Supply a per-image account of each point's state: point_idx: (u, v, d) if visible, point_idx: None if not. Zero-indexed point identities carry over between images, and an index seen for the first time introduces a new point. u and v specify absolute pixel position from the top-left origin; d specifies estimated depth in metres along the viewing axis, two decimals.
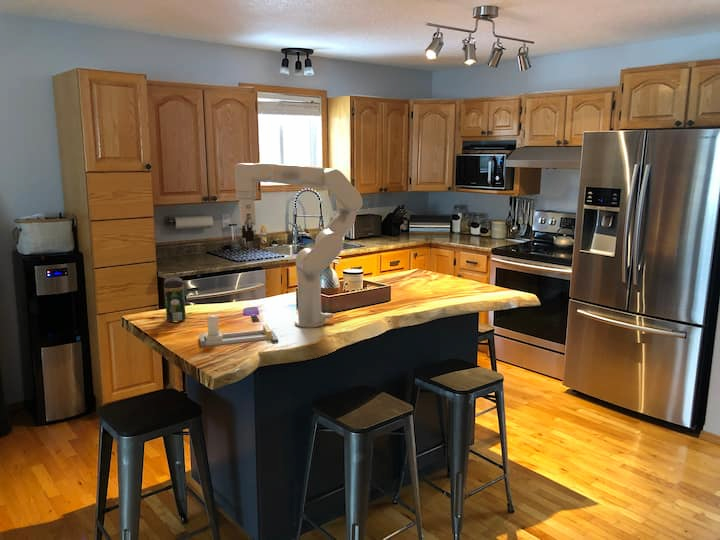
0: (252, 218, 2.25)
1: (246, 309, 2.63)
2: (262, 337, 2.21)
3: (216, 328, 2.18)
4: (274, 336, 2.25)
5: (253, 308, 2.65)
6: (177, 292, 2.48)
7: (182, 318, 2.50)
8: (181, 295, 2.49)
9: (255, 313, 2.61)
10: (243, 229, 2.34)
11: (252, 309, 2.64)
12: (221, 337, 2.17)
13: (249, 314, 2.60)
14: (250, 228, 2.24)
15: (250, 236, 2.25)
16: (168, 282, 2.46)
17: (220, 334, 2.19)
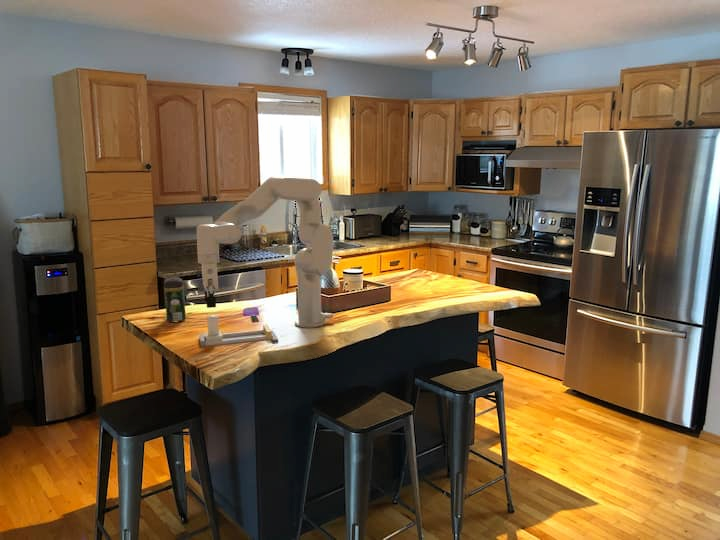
0: (214, 283, 2.11)
1: (246, 309, 2.63)
2: (262, 337, 2.21)
3: (216, 328, 2.18)
4: (274, 336, 2.25)
5: (253, 308, 2.64)
6: (177, 292, 2.48)
7: (182, 318, 2.50)
8: (181, 295, 2.49)
9: (255, 313, 2.60)
10: (206, 292, 2.20)
11: (252, 309, 2.63)
12: (221, 337, 2.17)
13: (249, 314, 2.59)
14: (211, 294, 2.10)
15: (212, 302, 2.11)
16: (168, 282, 2.46)
17: (220, 334, 2.19)
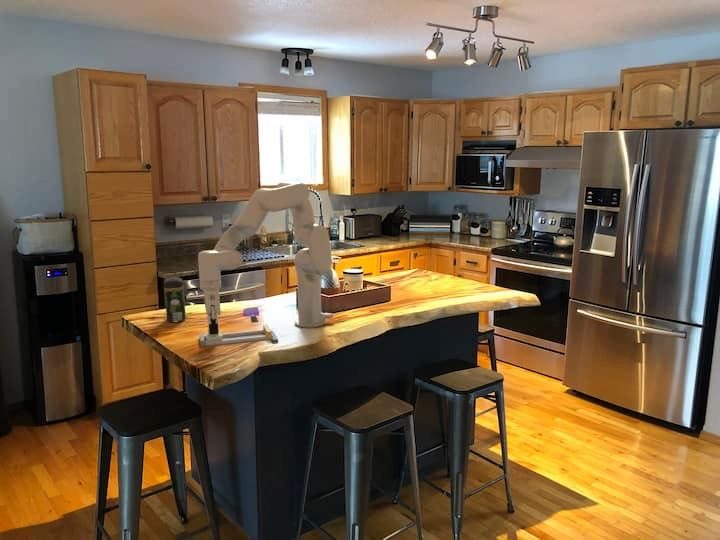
0: (216, 309, 2.13)
1: (246, 310, 2.62)
2: (262, 337, 2.21)
3: None
4: (274, 336, 2.25)
5: (253, 309, 2.63)
6: (177, 292, 2.48)
7: (182, 318, 2.50)
8: (181, 295, 2.49)
9: (255, 314, 2.60)
10: None
11: (252, 310, 2.63)
12: (221, 337, 2.17)
13: (249, 315, 2.59)
14: (214, 322, 2.14)
15: (214, 329, 2.16)
16: (168, 282, 2.46)
17: (220, 334, 2.19)
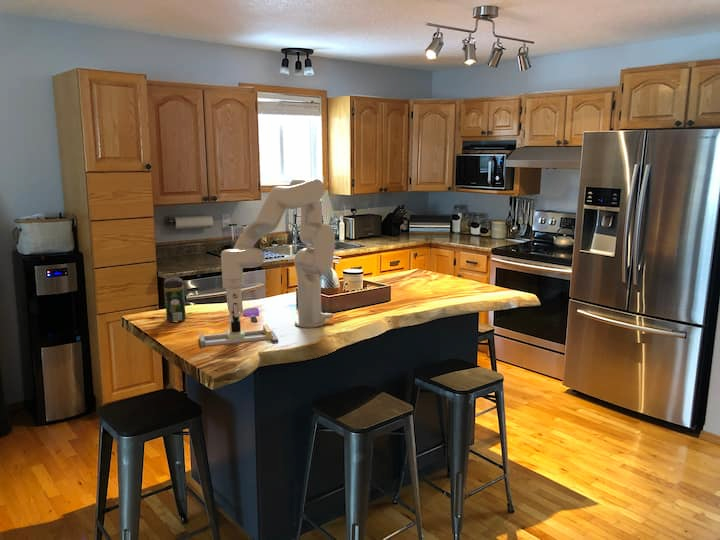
0: (239, 307, 2.16)
1: (246, 310, 2.62)
2: (262, 337, 2.21)
3: None
4: (274, 336, 2.25)
5: (253, 309, 2.63)
6: (177, 292, 2.48)
7: (182, 318, 2.50)
8: (181, 295, 2.49)
9: (255, 314, 2.59)
10: None
11: (252, 310, 2.62)
12: (243, 335, 2.20)
13: (249, 315, 2.58)
14: (236, 320, 2.17)
15: (236, 327, 2.18)
16: (168, 282, 2.46)
17: (242, 332, 2.22)
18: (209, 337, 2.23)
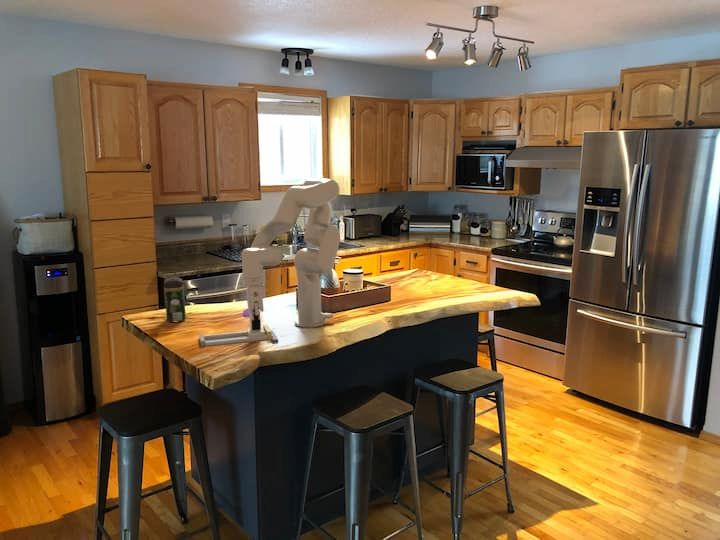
0: (260, 305, 2.18)
1: (246, 310, 2.61)
2: (262, 337, 2.21)
3: None
4: (274, 336, 2.25)
5: None
6: (177, 292, 2.48)
7: (182, 318, 2.50)
8: (181, 295, 2.49)
9: None
10: None
11: None
12: (263, 333, 2.22)
13: (249, 315, 2.57)
14: (257, 318, 2.19)
15: (257, 325, 2.21)
16: (168, 282, 2.46)
17: (262, 330, 2.24)
18: (209, 337, 2.23)
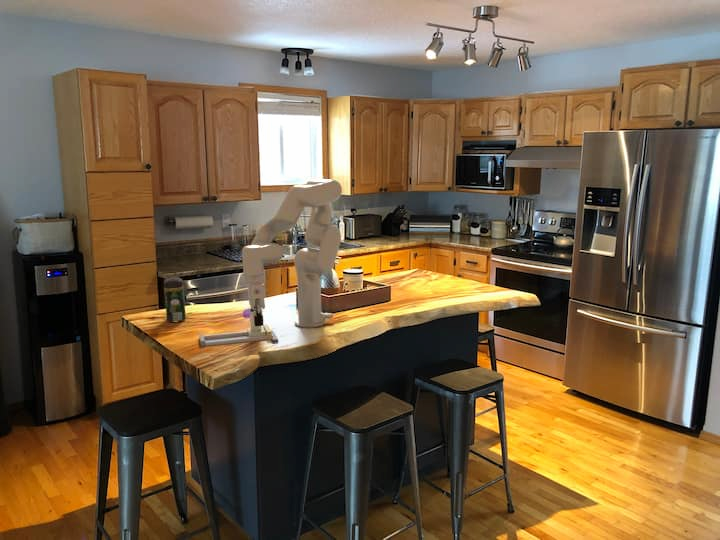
0: (261, 303, 2.18)
1: (246, 311, 2.61)
2: (262, 337, 2.21)
3: None
4: (274, 336, 2.25)
5: None
6: (177, 292, 2.48)
7: (182, 318, 2.50)
8: (181, 295, 2.49)
9: None
10: (252, 310, 2.27)
11: None
12: (264, 333, 2.22)
13: (249, 316, 2.57)
14: (259, 313, 2.17)
15: (259, 321, 2.18)
16: (168, 282, 2.46)
17: (262, 330, 2.24)
18: (209, 337, 2.23)
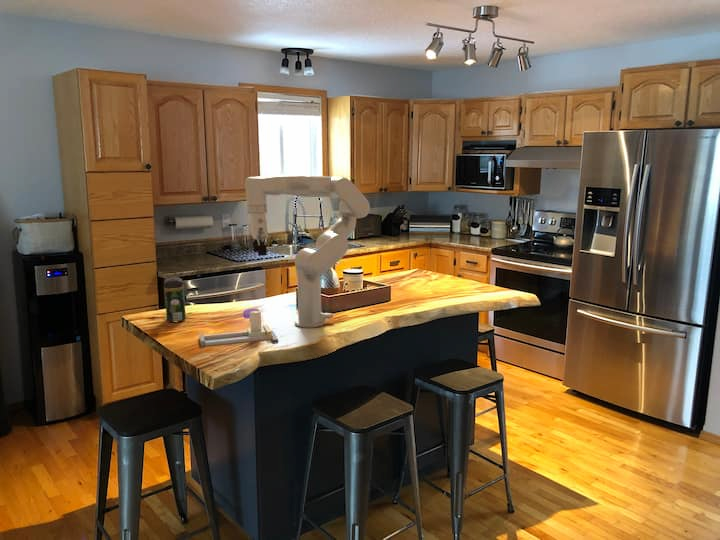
0: (264, 232, 2.23)
1: (247, 311, 2.60)
2: (262, 337, 2.21)
3: (259, 324, 2.23)
4: (274, 336, 2.25)
5: (254, 310, 2.61)
6: (177, 292, 2.48)
7: (182, 318, 2.50)
8: (181, 295, 2.49)
9: None
10: (254, 243, 2.32)
11: None
12: (264, 333, 2.22)
13: (249, 316, 2.56)
14: (263, 242, 2.22)
15: (263, 250, 2.24)
16: (168, 282, 2.46)
17: (262, 330, 2.24)
18: (209, 337, 2.23)
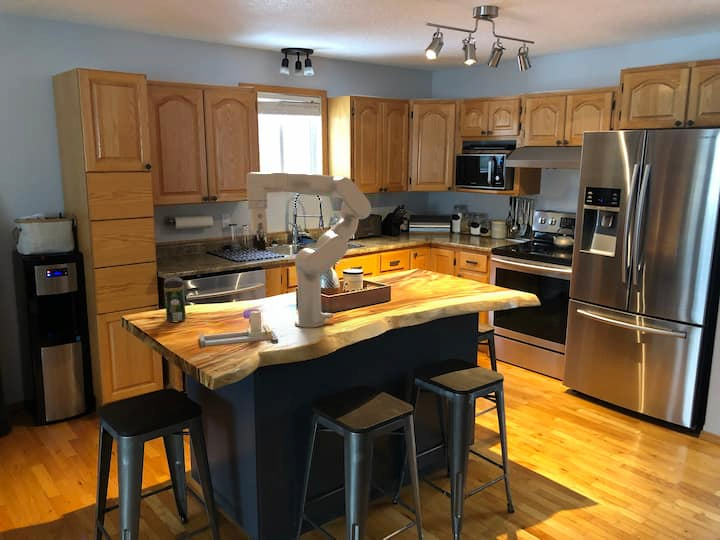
0: (264, 227, 2.24)
1: (247, 311, 2.60)
2: (262, 337, 2.21)
3: (259, 324, 2.23)
4: (274, 336, 2.25)
5: (254, 310, 2.61)
6: (177, 292, 2.48)
7: (182, 318, 2.50)
8: (181, 295, 2.49)
9: None
10: (254, 238, 2.33)
11: None
12: (264, 333, 2.22)
13: (248, 316, 2.56)
14: (262, 237, 2.23)
15: (262, 245, 2.24)
16: (168, 282, 2.46)
17: (262, 330, 2.24)
18: (209, 337, 2.23)
